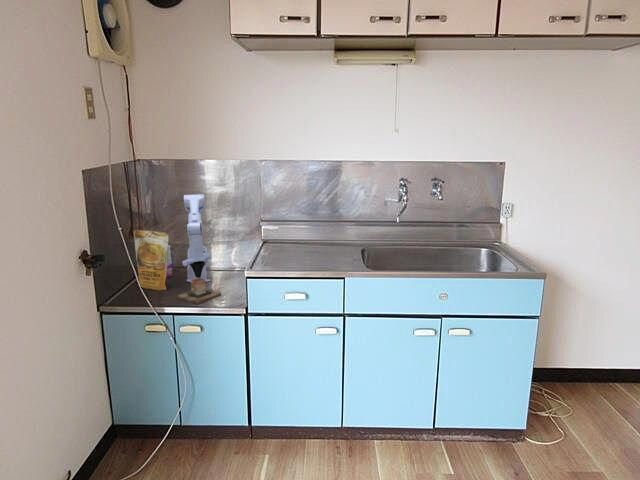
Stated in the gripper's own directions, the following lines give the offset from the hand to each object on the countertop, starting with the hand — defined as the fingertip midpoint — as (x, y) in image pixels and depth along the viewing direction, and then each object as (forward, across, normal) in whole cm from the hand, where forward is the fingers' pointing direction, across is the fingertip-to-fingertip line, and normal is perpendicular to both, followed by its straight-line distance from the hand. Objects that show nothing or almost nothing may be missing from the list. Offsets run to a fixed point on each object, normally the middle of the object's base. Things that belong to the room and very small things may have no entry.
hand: (198, 277), depth 217 cm
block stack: (+8, 0, 0) cm, 8 cm away
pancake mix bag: (+10, -5, +28) cm, 30 cm away
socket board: (+9, 0, 0) cm, 9 cm away
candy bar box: (+10, +6, +37) cm, 39 cm away
